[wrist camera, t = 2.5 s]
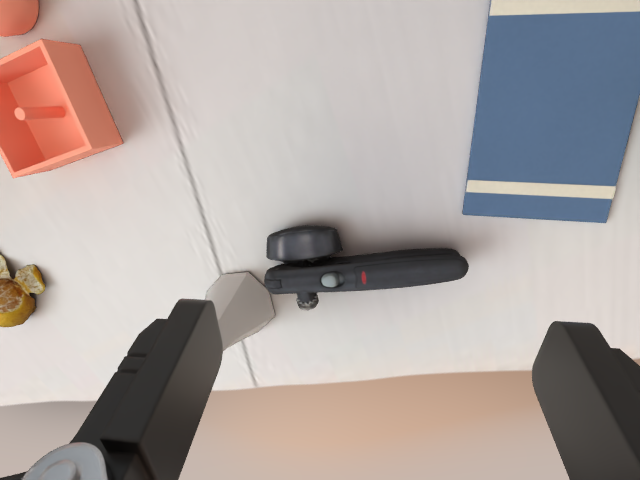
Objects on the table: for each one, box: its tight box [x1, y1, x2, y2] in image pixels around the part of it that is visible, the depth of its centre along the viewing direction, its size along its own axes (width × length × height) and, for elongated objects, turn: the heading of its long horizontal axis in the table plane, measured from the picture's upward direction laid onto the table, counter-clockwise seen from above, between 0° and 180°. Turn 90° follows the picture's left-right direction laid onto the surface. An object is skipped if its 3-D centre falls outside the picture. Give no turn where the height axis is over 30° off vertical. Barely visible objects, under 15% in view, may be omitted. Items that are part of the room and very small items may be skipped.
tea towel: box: [463, 0, 640, 223], centre depth 30 cm, size 18×11×1 cm, turn 0°
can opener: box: [264, 226, 469, 310], centre depth 35 cm, size 18×7×6 cm, turn 94°
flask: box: [205, 272, 275, 351], centre depth 37 cm, size 7×7×10 cm
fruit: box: [0, 255, 46, 327], centre depth 46 cm, size 8×8×4 cm
